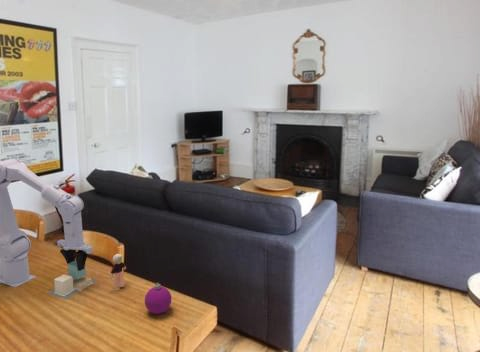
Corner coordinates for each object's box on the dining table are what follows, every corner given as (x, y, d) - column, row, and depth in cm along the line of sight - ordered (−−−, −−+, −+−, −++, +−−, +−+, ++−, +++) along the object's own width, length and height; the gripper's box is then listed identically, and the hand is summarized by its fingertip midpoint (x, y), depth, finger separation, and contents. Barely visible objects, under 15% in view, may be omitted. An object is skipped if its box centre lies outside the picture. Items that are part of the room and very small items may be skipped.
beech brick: (63, 284, 129) (63, 280, 128) (75, 278, 133) (74, 274, 133) (80, 289, 126) (80, 285, 125) (91, 283, 130) (91, 279, 130)
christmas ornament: (139, 313, 114) (138, 283, 111) (159, 301, 120) (158, 273, 118) (158, 322, 109) (157, 292, 107) (177, 309, 116) (176, 281, 114)
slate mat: (46, 293, 123) (46, 293, 123) (79, 275, 136) (79, 275, 136) (66, 300, 120) (65, 299, 120) (98, 281, 132) (98, 280, 132)
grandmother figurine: (119, 293, 124) (117, 259, 121) (108, 292, 125) (106, 258, 122) (130, 282, 132) (128, 250, 129) (120, 281, 132) (118, 249, 130)
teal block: (68, 277, 128) (67, 264, 127) (77, 272, 131) (76, 259, 130) (77, 279, 126) (75, 266, 125) (86, 274, 130) (85, 261, 129)
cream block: (55, 292, 123) (53, 279, 122) (65, 287, 127) (63, 274, 126) (63, 295, 122) (62, 282, 121) (73, 290, 125) (72, 276, 124)
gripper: (48, 232, 124) (52, 268, 127) (79, 239, 119) (82, 277, 122) (65, 225, 131) (68, 260, 134) (96, 232, 125) (98, 268, 128)
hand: (76, 268), depth 128 cm, fingers closed on teal block, 4 cm apart
